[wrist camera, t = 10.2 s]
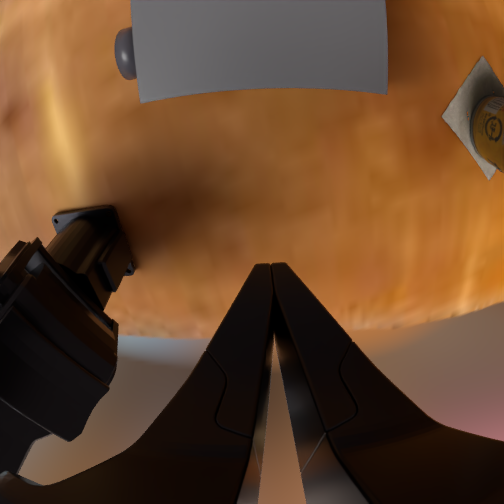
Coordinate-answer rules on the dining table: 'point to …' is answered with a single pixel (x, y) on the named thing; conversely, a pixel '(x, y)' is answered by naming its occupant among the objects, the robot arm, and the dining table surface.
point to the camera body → (253, 46)
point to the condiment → (480, 117)
